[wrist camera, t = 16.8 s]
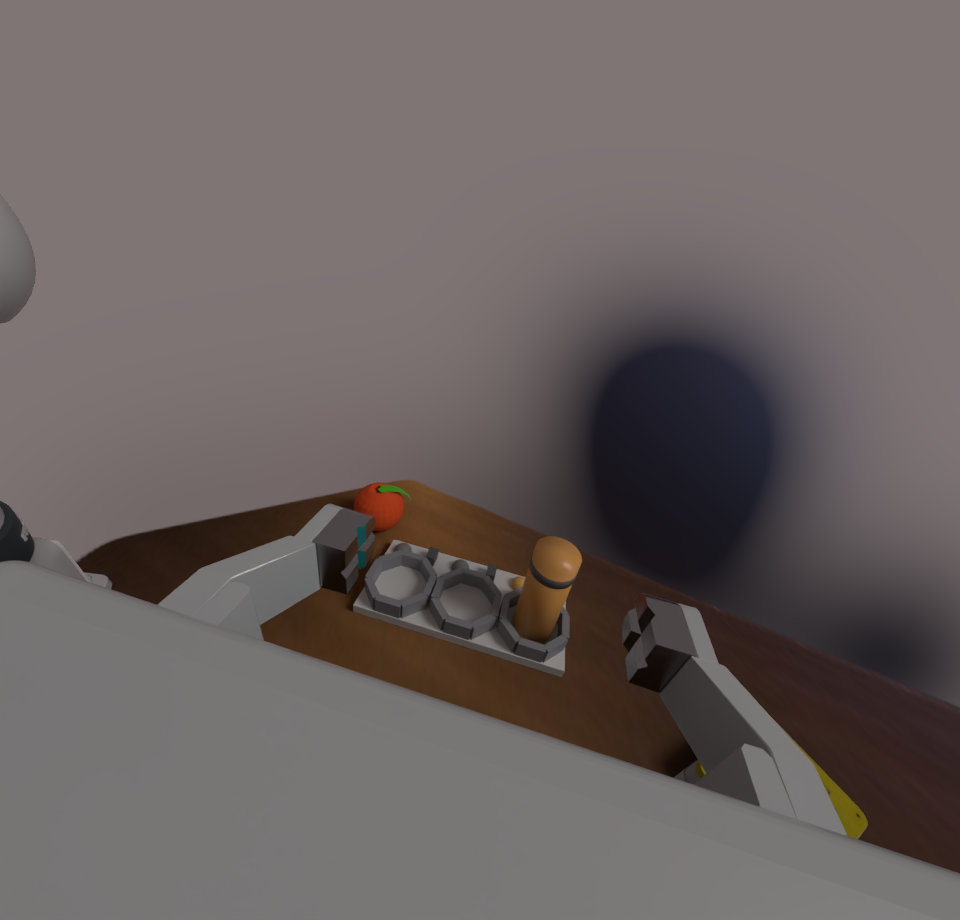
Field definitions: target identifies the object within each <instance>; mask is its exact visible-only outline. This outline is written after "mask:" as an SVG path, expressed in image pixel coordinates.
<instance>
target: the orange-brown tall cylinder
mask: <svg viewBox="0 0 960 920" xmlns="http://www.w3.org/2000/svg"><path fill="white" fill-rule="evenodd" d="M581 562H582V557H581V554H580V552H579V550H578V549H577V548H576V547H575V546H574V545H573V544H572V543H570V542H569V541H567V540H565V539H562V538H559V537H554V536H548V537H544V538H541V539H540V540H539V541H538V542H537V544H536V547H535V550H534V553H533V554H532V557H531V561H530V565H529V568H528V572H527V575H526V578H525V581H524V584H523V587H522V590H521V593H520V596H519V600H518V603H517V606H516V609H515V612H514V615H513V618H512V626H513V627H514V629H515V630H516V631H517V633H518V634H519V636H520V637H521V638H524V639H527V640H531V641H534V642H537V643H540V644H545V643H546V642H547V641H548V640H549V638H550V636H551V633H552V631H553V629H554V626H555V624H556V622H557V619H558V617H559V614H560V612H561V610H562V607H563V605H564V603H565V600H566V598H567V596H568V593H569V591H570V588H571V586H572V584H573V583H574V580H575V578H576V576H577V573H578V570H579V567H580V565H581Z"/></svg>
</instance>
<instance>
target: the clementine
mask: <svg viewBox="0 0 960 920" xmlns="http://www.w3.org/2000/svg"><path fill="white" fill-rule="evenodd" d="M399 492H400V493H403V494H406V495H407V496H408V497H409V498H410V496H409V495H408V494H407V493H406V492H405V491H404V490H402V489H400V488H398V487H395V486H392V485H389V484H386V483H373V484H370V485H367V486H366V487H364V488H363V489H362V490H361V491H360V492H359V493H358V495H357V496H356V498H355V502H354V511H356V512H359V513H363V514H366V515H369V516H372V517H374V518H375V519H376V527H375V528H374V530H373V531H385V530H388V529H390V528H391V527H393V526H394V525H395V524H397V523H398V521H399V520H400V518H401V516H402V514H403V509H404V503H403V498H402V496H401V494H400V493H399ZM410 500H411V498H410Z"/></svg>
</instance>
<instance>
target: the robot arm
mask: <svg viewBox="0 0 960 920" xmlns="http://www.w3.org/2000/svg"><path fill="white" fill-rule="evenodd" d="M35 274H36V270H35V258H34V254H33V250H32V247H31V244H30V241H29V238H28V236H27V234H26V232H25V230H24V228H23V226H22V224H21V223H20V221H19V219H18V218H17V216H16V215H15V213H14V212H13V210H12V209H11V208H10V206H9V205H8V203H7V202H6V201H5V200H4V199H3V197H2V196H1V195H0V323H5V322H8V321H10V320H11V319H13V317H15V316H16V315H17V314H18V313H19V312H20V311H21V309H22V308H23V307H24V306H25V304H26V303H27V301H28V299H29V297H30V296H31V293H32V290H33V287H34V283H35ZM375 527H376V519H375V518H374V517H372V516H369V515H366V514H363V513H359V512H356V511H353V510H350V509H347V508H342V507H339V506H336V505H333V504H327V505H325V506H324V507H323V508H322V509H321V510H320V511H319V512H318V513H317V514H316V515H315V516H314V517H313V518H312V519H311V520H310V521H309V522H308V523H307V524H306V525H305V526H304V527H303V528H302V529H301V530H300V531H299V532H298V533H297V534H296V535H295V536H294V537H293V536H287V537H284V538H282V539H279V540H276V541H274V542H271V543H268V544H265V545H263V546H260V547H257V548H255V549H252V550H249V551H246V552H244V553H241V554H238V555H236V556H233V557H230V558H227V559H225V560H222V561H219V562H217V563H214V564H211V565H208V566H206V567H203V568H200V569H199V570H198V571H197V572H196V573H195V574H193V575H192V576H191V577H190V578H189V579H187V580H186V581H185V582H184V583H183V584H181V585H180V586H179V587H178V588H177V589H176V590H174V591H173V592H172V593H171V594H170V595H168V596H167V597H166V598H165V599H164V600H163V601H161V602H160V603H159V604H158V605H155V604H152V603H149V602H146V601H143V600H140V599H137V598H134V597H131V596H129V595H126V594H123V593H120V592H117V591H114V590H111V587H112V582H111V581H110V580H109V579H108V577H107V576H105V575H100V574H92V573H84V572H83V571H82V570H81V569H80V567H79V566H78V565H77V563H76V562H75V561H74V560H73V558H72V557H71V556H70V554H69V553H68V552H67V551H66V549H65V548H64V547H63V546H62V545H61V544H60V543H59V542H58V541H56V540H46V539H42V538H32V537H31V535H30V534H29V532H28V528H27V526H26V524H25V523H24V522H23V520H22V519H21V518H20V517H19V516H18V515H17V514H15V513H14V512H13V510H12V509H11V508H10V507H9V506H8V505H7V504H5V503H3V502H1V501H0V920H960V873H957V872H954V871H951V870H948V869H945V868H942V867H939V866H936V865H933V864H930V863H927V862H924V861H921V860H918V859H915V858H912V857H909V856H906V855H903V854H900V853H897V852H894V851H891V850H888V849H885V848H882V847H879V846H876V845H873V844H870V843H867V842H864V841H861V840H858V839H855V838H852V837H849V836H847V834H846V831H845V829H844V827H843V825H842V823H841V821H840V819H839V817H838V815H837V812H836V810H835V808H834V806H833V804H832V802H831V800H830V798H829V795H828V793H827V791H826V789H825V787H824V785H823V783H822V781H821V779H820V776H819V774H818V772H817V770H816V768H815V766H814V764H813V763H812V762H811V761H810V760H809V758H808V757H807V756H806V755H805V754H804V753H803V752H802V751H801V750H800V749H799V747H798V746H797V745H796V744H795V743H794V742H793V741H792V740H791V739H790V738H789V736H788V735H787V734H786V733H785V732H784V731H783V730H782V729H781V728H780V727H779V725H778V724H777V723H776V722H775V721H774V720H773V719H772V718H771V717H770V715H769V714H768V713H767V712H766V711H765V710H764V709H763V708H762V707H761V706H760V704H759V703H758V702H757V701H756V700H755V699H754V698H753V697H752V696H751V695H750V693H749V692H748V691H747V690H746V689H745V688H744V687H743V686H742V685H741V684H740V682H739V681H738V680H737V679H736V678H735V677H734V676H733V675H732V674H731V673H730V671H729V670H728V669H727V668H726V667H725V666H723V665H720V664H719V663H718V661H717V658H716V655H715V653H714V650H713V647H712V644H711V642H710V639H709V636H708V633H707V631H706V628H705V625H704V622H703V620H702V617H701V614H700V612H699V611H698V610H697V609H696V608H693V607H689V606H686V605H682V604H679V603H675V602H671V601H668V600H664V599H660V598H657V597H653V596H649V595H646V594H642V593H641V594H640V595H638V597H637V598H636V600H635V601H634V602H635V607H636V608H635V609H632V610H630V611H628V613H627V615H626V617H625V618H624V622H623V627H622V639H623V644H624V646H625V647H626V649H627V650H628V652H629V653H628V655H627V656H626V658H625V663H626V670H627V677H628V682H629V683H632V684H635V685H638V686H641V687H644V688H646V689H649V690H652V691H655V692H658V693H660V694H659V695H660V697H661V698H662V700H663V702H664V703H665V705H666V707H667V708H668V710H669V712H670V713H671V715H672V717H673V719H674V720H675V722H676V724H677V725H678V727H679V729H680V730H681V732H682V734H683V735H684V737H685V739H686V740H687V742H688V744H689V745H690V747H691V749H692V750H693V752H694V754H695V755H696V757H697V759H698V760H699V762H700V764H701V765H702V767H703V769H704V770H705V772H706V774H705V775H704V776H703V777H701V778H700V779H699V780H698V781H696V782H695V783H694V784H690V783H687V782H684V781H681V780H678V779H675V778H672V777H669V776H666V775H663V774H660V773H658V772H655V771H652V770H649V769H646V768H643V767H640V766H637V765H634V764H631V763H628V762H625V761H622V760H619V759H616V758H613V757H610V756H607V755H604V754H601V753H598V752H595V751H592V750H589V749H586V748H583V747H580V746H577V745H574V744H571V743H568V742H565V741H562V740H559V739H556V738H553V737H550V736H547V735H544V734H541V733H538V732H535V731H532V730H529V729H526V728H523V727H520V726H517V725H514V724H511V723H508V722H505V721H502V720H499V719H496V718H493V717H490V716H487V715H484V714H481V713H478V712H475V711H472V710H469V709H466V708H463V707H460V706H457V705H454V704H451V703H448V702H445V701H442V700H439V699H436V698H433V697H430V696H427V695H424V694H421V693H418V692H415V691H412V690H409V689H406V688H403V687H400V686H397V685H394V684H391V683H388V682H385V681H382V680H379V679H376V678H373V677H370V676H367V675H364V674H361V673H358V672H355V671H352V670H349V669H346V668H343V667H340V666H337V665H334V664H331V663H328V662H325V661H322V660H319V659H316V658H313V657H310V656H307V655H304V654H301V653H298V652H295V651H292V650H290V649H287V648H284V647H281V646H278V645H275V644H272V643H269V642H266V641H264V639H263V635H262V631H261V628H260V625H261V624H262V623H264V622H266V621H267V620H269V619H271V618H272V617H274V616H276V615H277V614H279V613H281V612H282V611H284V610H286V609H287V608H289V607H291V606H292V605H294V604H295V603H297V602H299V601H300V600H302V599H304V598H305V597H307V596H309V595H310V594H312V593H314V592H315V591H317V590H319V589H320V587H322V588H326V589H329V590H333V591H336V592H340V593H343V594H348V592H349V591H350V589H351V588H352V586H353V585H354V583H355V582H356V580H357V579H358V570H359V569H361V568H363V567H365V566H366V565H367V563H368V562H369V560H370V558H371V556H372V554H373V551H374V547H375V539H376V537H375V536H374V534H373V533H372V531H373V530H374V528H375Z"/></svg>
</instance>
